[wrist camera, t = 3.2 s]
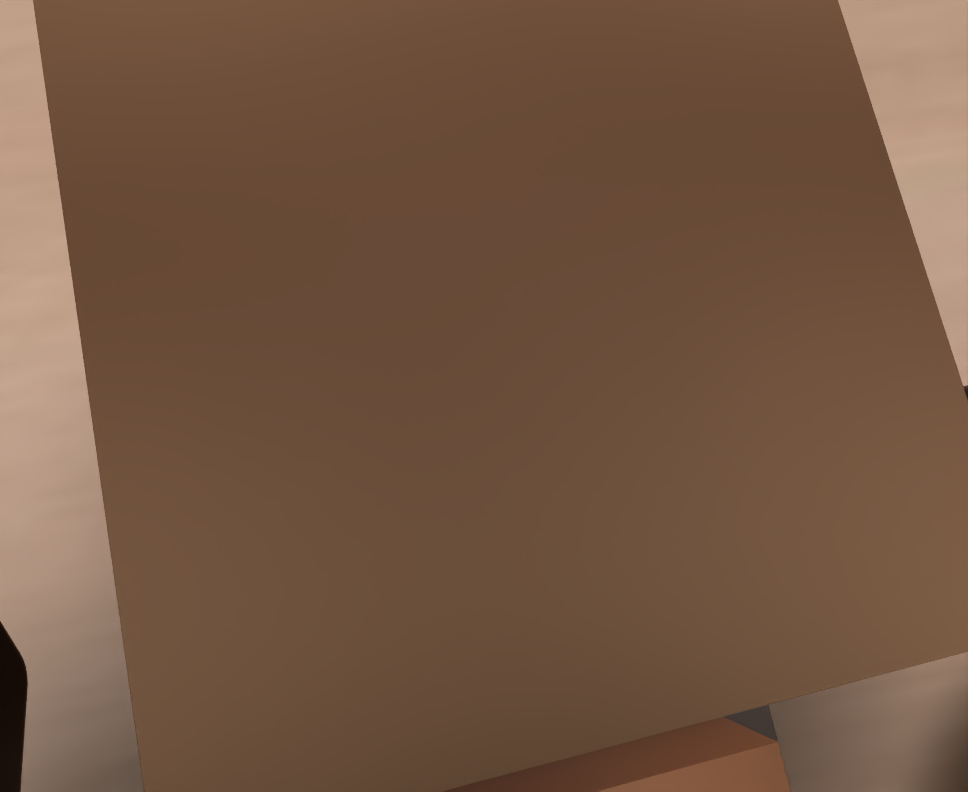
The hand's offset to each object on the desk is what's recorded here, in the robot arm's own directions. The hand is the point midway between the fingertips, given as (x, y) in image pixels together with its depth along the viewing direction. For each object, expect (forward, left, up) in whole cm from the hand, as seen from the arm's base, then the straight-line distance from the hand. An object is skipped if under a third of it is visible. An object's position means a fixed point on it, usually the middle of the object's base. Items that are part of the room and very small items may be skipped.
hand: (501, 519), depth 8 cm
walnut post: (+1, +1, -9) cm, 9 cm away
